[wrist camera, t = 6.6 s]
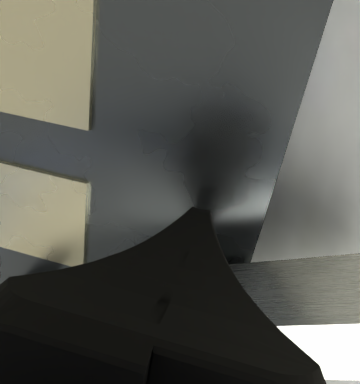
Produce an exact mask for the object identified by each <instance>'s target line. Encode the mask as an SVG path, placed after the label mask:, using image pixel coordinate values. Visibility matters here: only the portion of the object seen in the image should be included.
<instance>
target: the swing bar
mask: <svg viewBox="0 0 360 384" xmlns="http://www.w3.org/2000/svg"><path fill="white" fill-rule="evenodd" d="M229 266H230V268H231V269H232V271H233V273H234V275H235V276H236V278H237V279H238V281H239V283H240V284H241V286H242V287H243V288H244V290H245V291H246V292H247V294H248V295H249V296H250V297H251V299H252V300H253V301H254V302H255V304H256V305H257V306H258V307H259V308H260V309H261V311H262V312H263V313H264V314H265V315H266V316H267V317H268V318H269V319H270V320H271V321H272V322H273V323H274V324H275V325H276V326H277V327H278V328H279V329H280V330H281V331H282V332H283V333H284V334H285V335H286V336H287V337H288V338H289V339H290V340H291V341H293V342H294V343H295V344H296V345H297V346H298V347H299V348H301V349H302V350H303V351H304V352H305V353H306V354H307V355H309V356H310V357H311V358H312V359H313V360H314V361H315V362H317V363H318V364H319V365H320V368H321V371H322V373H323V376H324V379H325V380H360V253H358V254H346V255H334V256H323V257H311V258H299V259H288V260H276V261H264V262H253V263H241V264H229Z"/></svg>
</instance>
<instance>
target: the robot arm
mask: <svg viewBox="0 0 360 384" xmlns="http://www.w3.org/2000/svg"><path fill="white" fill-rule="evenodd" d="M0 384H326V382H325V379H324V376H323V373H322V371H321V368H320V365H319V364H318V363H317V362H315V361H314V360H313V359H312V358H311V357H310V356H309V355H307V354H306V353H305V352H304V351H303V350H302V349H301V348H299V347H298V346H297V345H296V344H295V343H294V342H293V341H291V340H290V339H289V338H288V337H287V336H286V335H285V334H284V333H283V332H282V331H281V330H280V329H279V328H278V327H277V326H276V325H275V324H274V323H273V322H272V321H271V320H270V319H269V318H268V317H267V316H266V315H265V314H264V313H263V312H262V311H261V309H260V308H259V307H258V306H257V305H256V304H255V302H254V301H253V300H252V299H251V297H250V296H249V295H248V294H247V292H246V291H245V290H244V288H243V287H242V286H241V284H240V283H239V281H238V279H237V278H236V276H235V275H234V273H233V271H232V269H231V268H230V266H229V264H228V262H227V260H226V258H225V256H224V254H223V251H222V249H221V247H220V244H219V241H218V239H217V236H216V233H215V229H214V226H213V221H212V214H211V211H208V210H204V209H199V208H195V207H191V208H190V209H189V210H188V211H187V212H185V213H184V214H183V215H182V216H181V217H179V218H178V219H177V220H176V221H174V222H173V223H172V224H170V225H169V226H167V227H166V228H165V229H163V230H162V231H160V232H159V233H157V234H155V235H154V236H152V237H150V238H149V239H147V240H145V241H144V242H142V243H140V244H138V245H136V246H134V247H131V248H129V249H127V250H124V251H122V252H119V253H116V254H113V255H110V256H108V257H105V258H102V259H99V260H96V261H92V262H89V263H85V264H81V265H77V266H73V267H68V268H64V269H59V270H53V271H47V272H40V273H34V274H27V275H20V276H12V277H9V278H7V279H6V280H5V281H4V282H2V283H1V284H0Z"/></svg>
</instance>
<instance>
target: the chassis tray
mask: <svg viewBox="0 0 360 384" xmlns="http://www.w3.org/2000/svg"><path fill="white" fill-rule="evenodd" d="M332 3H333V0H0V284H1V283H2V282H4V281H5V280H6V279H7V278H9V277H12V276H20V275H27V274H34V273H40V272H47V271H53V270H59V269H64V268H68V267H73V266H77V265H81V264H85V263H89V262H92V261H96V260H99V259H102V258H105V257H108V256H110V255H113V254H116V253H119V252H122V251H124V250H127V249H129V248H131V247H134V246H136V245H138V244H140V243H142V242H144V241H145V240H147V239H149V238H150V237H152V236H154V235H155V234H157V233H159V232H160V231H162V230H163V229H165V228H166V227H167V226H169V225H170V224H172V223H173V222H174V221H176V220H177V219H178V218H179V217H181V216H182V215H183V214H184V213H185V212H187V211H188V210H189V209H190V208H191V207H195V208H199V209H204V210H208V211H211V214H212V221H213V226H214V229H215V233H216V236H217V239H218V241H219V244H220V247H221V249H222V251H223V254H224V256H225V258H226V260H227V262H228V264H241V263H250V262H251V259H252V256H253V252H254V249H255V246H256V243H257V240H258V237H259V234H260V230H261V227H262V224H263V221H264V218H265V215H266V211H267V208H268V205H269V202H270V199H271V196H272V192H273V189H274V186H275V183H276V180H277V177H278V174H279V170H280V167H281V164H282V161H283V158H284V155H285V151H286V148H287V145H288V142H289V139H290V136H291V132H292V129H293V126H294V123H295V120H296V117H297V114H298V110H299V107H300V104H301V101H302V98H303V95H304V91H305V88H306V85H307V82H308V79H309V76H310V72H311V69H312V66H313V63H314V60H315V57H316V54H317V50H318V47H319V44H320V41H321V38H322V35H323V31H324V28H325V25H326V22H327V19H328V16H329V12H330V9H331V6H332Z"/></svg>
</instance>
